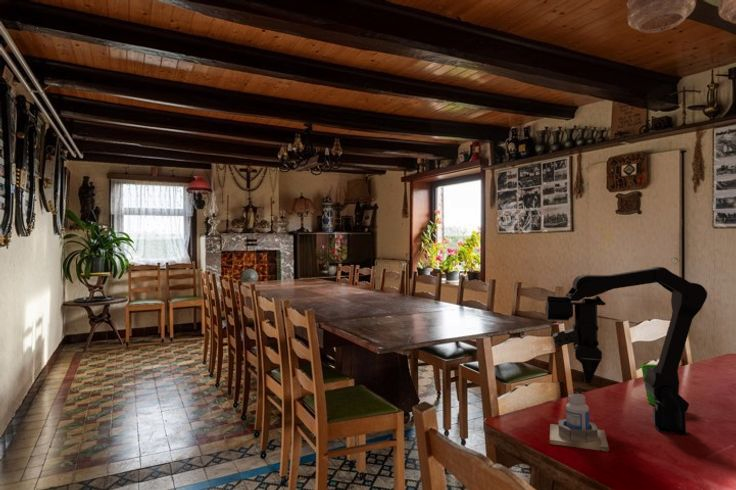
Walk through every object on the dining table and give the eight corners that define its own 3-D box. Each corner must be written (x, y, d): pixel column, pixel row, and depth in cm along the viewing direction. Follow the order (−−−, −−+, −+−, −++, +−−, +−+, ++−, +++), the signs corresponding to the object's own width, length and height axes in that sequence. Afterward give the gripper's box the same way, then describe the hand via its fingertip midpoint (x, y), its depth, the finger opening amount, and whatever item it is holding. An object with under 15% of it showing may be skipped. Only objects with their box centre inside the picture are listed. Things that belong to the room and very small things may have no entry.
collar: (604, 434, 121) (604, 420, 121) (608, 451, 111) (608, 436, 111) (550, 427, 126) (550, 414, 126) (549, 443, 115) (549, 429, 115)
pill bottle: (581, 429, 121) (580, 392, 121) (594, 437, 116) (593, 398, 116) (562, 431, 121) (561, 393, 121) (574, 439, 115) (573, 399, 115)
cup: (643, 406, 141) (643, 370, 141) (638, 397, 149) (638, 363, 149) (678, 410, 138) (678, 372, 138) (671, 400, 146) (671, 365, 146)
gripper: (554, 315, 140) (555, 367, 140) (554, 324, 123) (555, 384, 122) (595, 316, 136) (596, 370, 136) (601, 327, 118) (602, 388, 118)
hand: (586, 377), depth 128 cm, fingers open, 9 cm apart
